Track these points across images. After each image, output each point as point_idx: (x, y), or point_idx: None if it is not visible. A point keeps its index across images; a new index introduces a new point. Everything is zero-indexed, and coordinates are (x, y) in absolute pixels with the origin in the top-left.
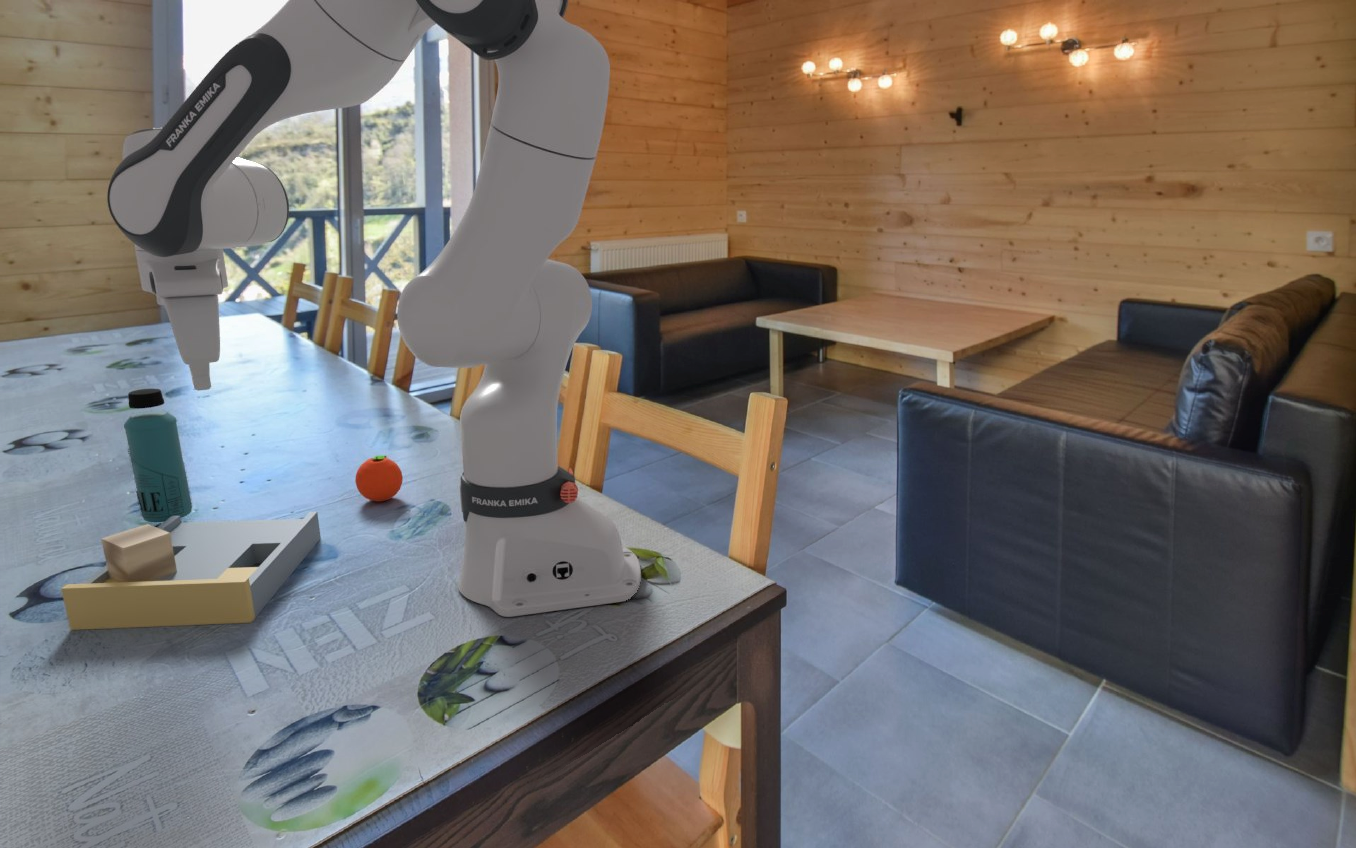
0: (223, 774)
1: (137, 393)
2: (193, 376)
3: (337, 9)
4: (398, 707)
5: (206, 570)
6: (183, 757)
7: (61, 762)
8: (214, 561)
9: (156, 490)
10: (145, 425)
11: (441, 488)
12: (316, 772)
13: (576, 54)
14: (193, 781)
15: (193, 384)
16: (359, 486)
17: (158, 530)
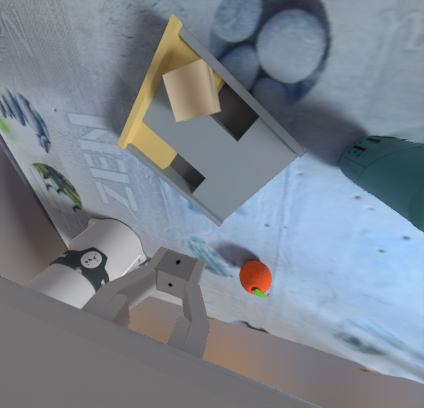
0: (16, 84)
1: None
2: (142, 266)
3: None
4: (45, 157)
5: (179, 138)
6: (29, 71)
7: (34, 10)
8: (191, 147)
9: (362, 155)
10: None
11: None
12: (13, 115)
13: None
14: (13, 71)
15: (182, 257)
16: (254, 264)
17: (188, 115)
